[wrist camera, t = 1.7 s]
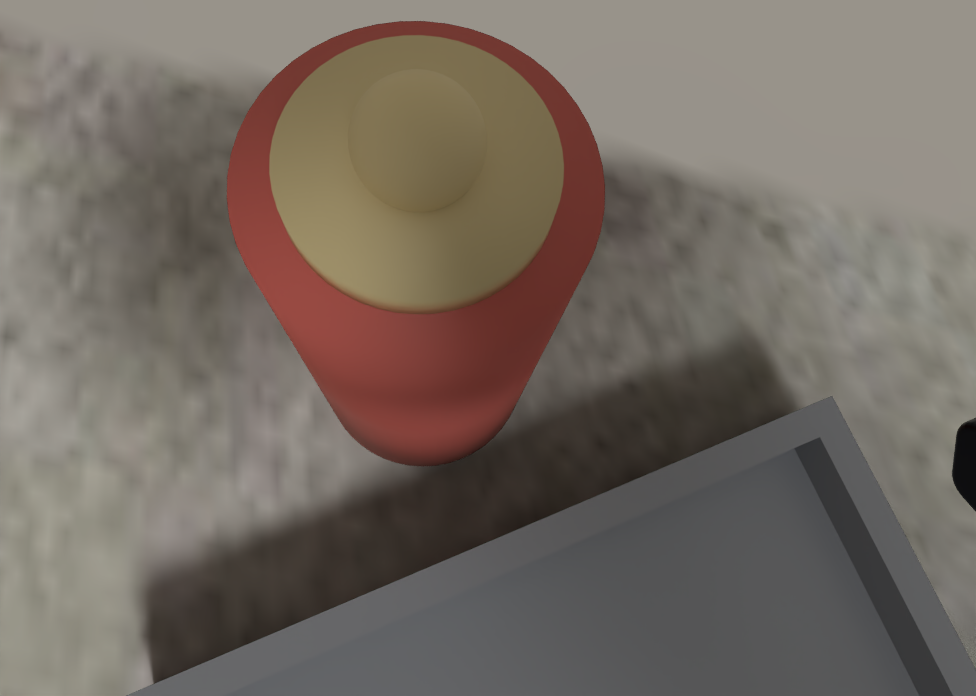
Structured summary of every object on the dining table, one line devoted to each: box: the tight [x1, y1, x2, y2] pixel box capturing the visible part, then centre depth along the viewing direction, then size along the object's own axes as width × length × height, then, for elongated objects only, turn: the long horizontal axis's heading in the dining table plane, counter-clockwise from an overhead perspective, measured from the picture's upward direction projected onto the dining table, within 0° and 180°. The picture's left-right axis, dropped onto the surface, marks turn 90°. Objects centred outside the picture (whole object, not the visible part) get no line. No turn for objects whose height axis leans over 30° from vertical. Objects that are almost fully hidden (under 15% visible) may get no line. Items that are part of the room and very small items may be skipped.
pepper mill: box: [227, 21, 605, 466], centre depth 16 cm, size 5×5×13 cm
